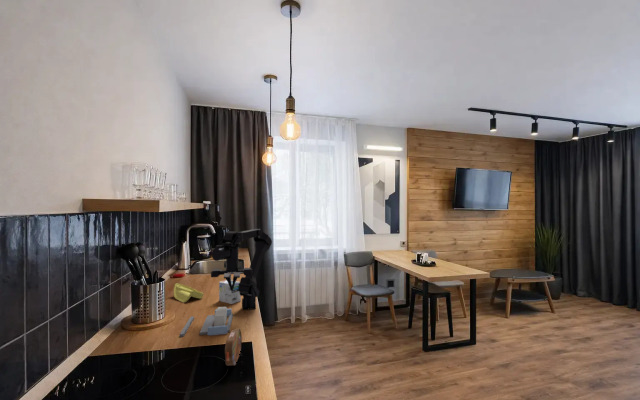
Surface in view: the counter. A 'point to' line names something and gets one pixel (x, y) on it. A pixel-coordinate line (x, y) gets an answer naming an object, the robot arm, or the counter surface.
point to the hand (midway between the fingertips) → (232, 290)
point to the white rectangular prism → (220, 316)
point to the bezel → (219, 327)
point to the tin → (233, 347)
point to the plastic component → (185, 293)
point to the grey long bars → (205, 325)
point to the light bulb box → (229, 292)
